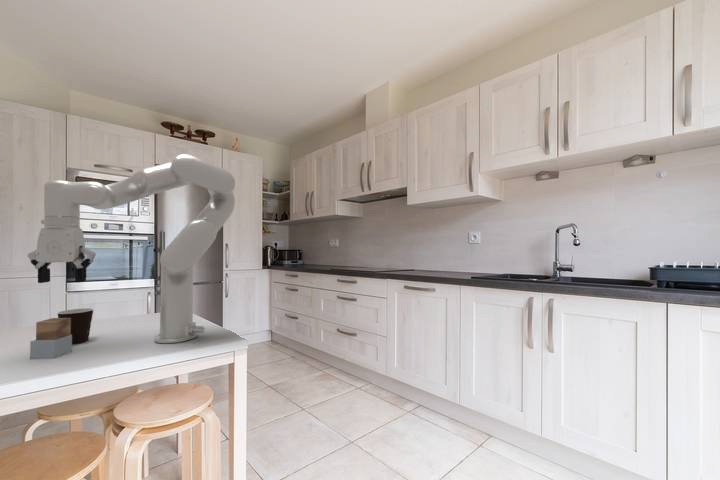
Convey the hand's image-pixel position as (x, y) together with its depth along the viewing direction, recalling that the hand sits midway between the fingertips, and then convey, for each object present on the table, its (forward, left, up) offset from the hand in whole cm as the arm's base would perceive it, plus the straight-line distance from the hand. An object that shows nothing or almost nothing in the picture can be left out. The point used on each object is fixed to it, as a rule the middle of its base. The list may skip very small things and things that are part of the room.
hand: (62, 282), depth 91 cm
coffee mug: (+5, -12, -21) cm, 25 cm away
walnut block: (+1, +1, -16) cm, 16 cm away
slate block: (+1, +2, -21) cm, 21 cm away
